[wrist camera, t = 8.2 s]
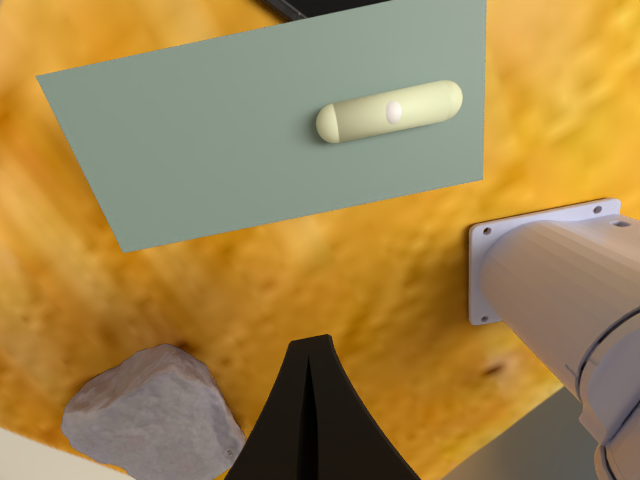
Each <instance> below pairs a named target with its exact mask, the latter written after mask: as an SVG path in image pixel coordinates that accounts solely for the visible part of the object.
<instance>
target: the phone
mask: <svg viewBox="0 0 640 480" xmlns="http://www.w3.org/2000/svg"><path fill="white" fill-rule="evenodd" d="M262 1H263V2H264V3H266V4H267V5H268V4H269V5H268V6H270V7H271V8H272V9H274V10H275V11H277V12H278V13H279V14H281V15H282V16H283V17H285V18H286V19H287V20H289V21H290V22H293V21H297V20H302V19H307V18H311V17H316V16H321V15H325V14H330V13H335V12H340V11H344V10H349V9H354V8H358V7H363V6H368V5H372V4H377V3H382V2H387V1H391V0H262Z"/></svg>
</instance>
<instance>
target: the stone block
mask: <svg viewBox="0 0 640 480" xmlns="http://www.w3.org/2000/svg"><path fill="white" fill-rule="evenodd" d="M61 430H62V433H63V434H65V436H66V437H67V438H68V439H69V441H70V445H71V446H72V447H73V448H74V449H76V450H78V451H79V452H81V453H83V454H85V455H87V456H89V457H90V458H92V459H94V460H96V461H97V462H98V463H103V464H112V465H116V466H119V467H122V468H123V469H125V470H126V471H127V473H128V475H130V476H131V477H133V478H135V479H136V480H212V479H214V478H216V477H217V476H219V475H220V474H222V473H223V472H225V471H226V470H228V469H229V468H230V467H232V466H233V464H234V462H235V460H236V459H237V457H238V455H239V454H240V452H241V450H242V448H243V447H244V445H245V443H246V438H245V434H244V433H243V432H242V431H241V429H240V427H239V426H238V425H237V424H236V422H235V420H234V418H233V415H232V412H231V411H230V408H229V407H228V406H227V404H226V402H225V401H224V398H223V394H222V392H221V391H220V390H219V388H218V386H217V384H216V381H215V380H214V378H213V377H212V376H211V374H210V372H209V369H208V367H207V366H206V364H205V363H203V362H201V361H199V360H197V359H196V358H194V357H193V356H191V355H190V354H188V353H186V352H184V351H183V350H181V349H180V348H177V347H175V346H173V345H170V344H162V345H159V346H157V347H153V348H149V349H144V350H141V351H138V352H136V353H135V354H134V355H133V356H131V357H130V358H129V359H127V360H124V362H123V363H122V364H121V365H120V366H118V367H116V368H113V369H110V370H108V371H105V372H103V373H102V374H100V375H98V376H97V377H95V378H93V379H92V380H90V381H88V382H87V383H86V384H85V385H84V386H83V387H82V389H80V390H79V391H78V392H77V393H76V394H75V395H74V396H73V397H72V399H71V400H70V401H69V402H68V403H67V405H66V407H65V411H64V414H63V419H62V423H61Z"/></svg>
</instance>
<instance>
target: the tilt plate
mask: <svg viewBox="0 0 640 480" xmlns="http://www.w3.org/2000/svg"><path fill="white" fill-rule="evenodd" d="M485 49H486V0H391V1H387V2H382V3H377V4H372V5H368V6H363V7H358V8H354V9H349V10H344V11H340V12H335V13H330V14H325V15H321V16H316V17H311V18H307V19H302V20H297V21H293V22H288V23H283V24H278V25H274V26H269V27H264V28H260V29H255V30H250V31H246V32H241V33H236V34H231V35H227V36H222V37H217V38H213V39H208V40H203V41H199V42H194V43H189V44H185V45H180V46H175V47H170V48H166V49H161V50H156V51H152V52H147V53H142V54H138V55H133V56H128V57H123V58H119V59H114V60H109V61H105V62H100V63H95V64H91V65H86V66H81V67H76V68H72V69H67V70H62V71H58V72H53V73H48V74H44V75H39V76H36V78H37V80H38V82H39V84H40V86H41V88H42V90H43V92H44V94H45V96H46V98H47V100H48V102H49V104H50V106H51V108H52V110H53V112H54V114H55V116H56V118H57V120H58V122H59V124H60V126H61V129H62V131H63V133H64V135H65V137H66V139H67V141H68V143H69V145H70V147H71V149H72V151H73V153H74V155H75V157H76V159H77V161H78V163H79V165H80V167H81V169H82V171H83V173H84V175H85V177H86V179H87V181H88V183H89V185H90V187H91V189H92V191H93V193H94V195H95V197H96V199H97V201H98V203H99V205H100V207H101V209H102V211H103V213H104V215H105V217H106V219H107V221H108V223H109V225H110V227H111V229H112V231H113V233H114V235H115V237H116V239H117V241H118V243H119V245H120V247H121V249H122V251H123V253H126V252H131V251H136V250H141V249H146V248H151V247H156V246H161V245H166V244H170V243H175V242H180V241H185V240H190V239H195V238H200V237H205V236H210V235H214V234H219V233H224V232H229V231H234V230H239V229H244V228H249V227H254V226H258V225H263V224H268V223H273V222H278V221H283V220H288V219H293V218H298V217H302V216H307V215H312V214H317V213H322V212H327V211H332V210H337V209H342V208H346V207H351V206H356V205H361V204H366V203H371V202H376V201H381V200H386V199H391V198H395V197H400V196H405V195H410V194H415V193H420V192H425V191H430V190H435V189H439V188H444V187H449V186H454V185H459V184H464V183H469V182H474V181H479V180H483V146H484V98H485Z"/></svg>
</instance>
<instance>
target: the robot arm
mask: <svg viewBox="0 0 640 480" xmlns="http://www.w3.org/2000/svg"><path fill="white" fill-rule="evenodd" d="M595 207H596V209H595V210H594V208H595ZM620 207H621V202H620V200H618V199H616V198H606V199H601V200H596V201H591V202H586V203H581V204H575V205H570V206H565V207H560V208H555V209H550V210H545V211H540V212H535V213H530V214H524V215H519V216H514V217H509V218H504V219H499V220H494V221H489V222H484V223H478V224H475V225H473V226H472V227H471V228H470V230H469V321H470V322H471V323H472V324H473V325H483V324H488V323H493V322H499V321H504V322H505V323H506V324H507V325H508V326H509V328H510V329H511V330H512V331H513V332H514V333H515V334H516V335H517V336H518V337H519V338H520V339H521V340H522V341H523V342H524V343H525V344H526V345H527V346H528V347H529V349H530V350H531V351H532V352H533V353H534V354H535V355H536V356H537V357H538V358H539V359H540V360H541V361H542V362H543V363H544V364H545V365H546V366H547V367H548V369H549V370H550V371H551V372H552V373H553V374H554V375H555V376H556V377H557V378H558V379H559V380H560V381H561V382H562V383H563V384H564V385H565V386H566V387H567V388H568V390H569V391H570V392H571V393H572V394H573V395H574V396H575V397H576V398H577V399H578V400H579V401H580V402H581V403H582V404H583V411H582V414H581V416H580V418H579V421H580V422H581V423H582V425H583V426H584V427H585V428H586V429H587V430H588V431H589V432H590V434H591V435H592V436H593V437H594V438H595V439H596V440H597V441H598V442H599V445H598V446H597V449H596V451H595V458H594V463H595V468H596V472H597V475H598V478H599V480H640V221H639V220H636V219H633V218H630V217H627V216H624V215H620V214H619V211H620ZM593 210H594V211H593ZM485 228H488V230H487V231H486V232H485V233H483V231H484V229H485ZM484 316H485V317H484ZM482 317H484V318H482ZM224 480H421V479H420V478H419V476H418V475H417V474H416V473H415V472H414V471H413V469H412V468H411V467H410V466H409V465H408V464H407V462H406V461H405V460H404V459H403V458H402V456H401V455H400V454H399V453H398V451H397V450H396V449H395V447H394V446H393V445H392V443H391V442H390V441H389V440H388V438H387V437H386V436H385V434H384V433H383V431H382V430H381V429H380V427H379V426H378V425H377V423H376V422H375V420H374V419H373V417H372V416H371V414H370V413H369V411H368V410H367V408H366V407H365V405H364V404H363V402H362V401H361V399H360V397H359V396H358V394H357V393H356V391H355V389H354V388H353V386H352V384H351V382H350V380H349V378H348V377H347V375H346V373H345V371H344V369H343V367H342V365H341V363H340V361H339V358H338V356H337V354H336V351H335V348H334V345H333V341H332V336H330V335H329V334H325V335H320V336H315V337H310V338H305V339H300V340H294V341H291V342H290V343H289V345H288V349H287V352H286V355H285V358H284V361H283V363H282V366H281V369H280V371H279V374H278V376H277V379H276V381H275V383H274V386H273V388H272V390H271V393H270V395H269V397H268V400H267V402H266V404H265V406H264V408H263V410H262V412H261V414H260V416H259V418H258V420H257V422H256V424H255V426H254V428H253V430H252V432H251V434H250V436H249V438H248V439H247V441H246V443H245V445H244V447H243V448H242V450H241V452H240V454H239V455H238V457H237V459H236V460H235V462H234V464H233V466H232V467H231V469H230V470H229V472H228V474H227V475H226V477H225V478H224Z"/></svg>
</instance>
